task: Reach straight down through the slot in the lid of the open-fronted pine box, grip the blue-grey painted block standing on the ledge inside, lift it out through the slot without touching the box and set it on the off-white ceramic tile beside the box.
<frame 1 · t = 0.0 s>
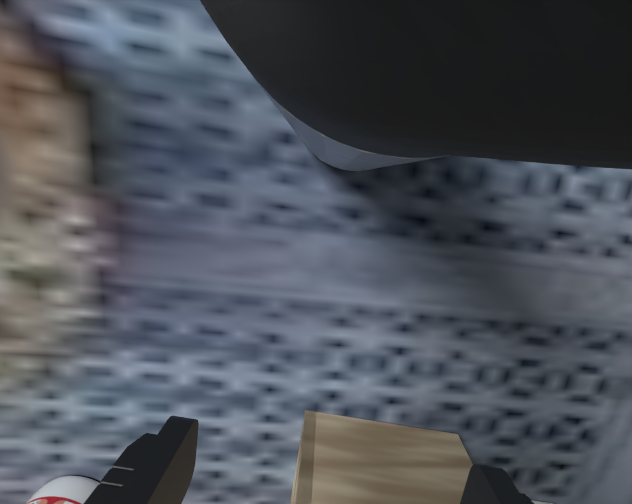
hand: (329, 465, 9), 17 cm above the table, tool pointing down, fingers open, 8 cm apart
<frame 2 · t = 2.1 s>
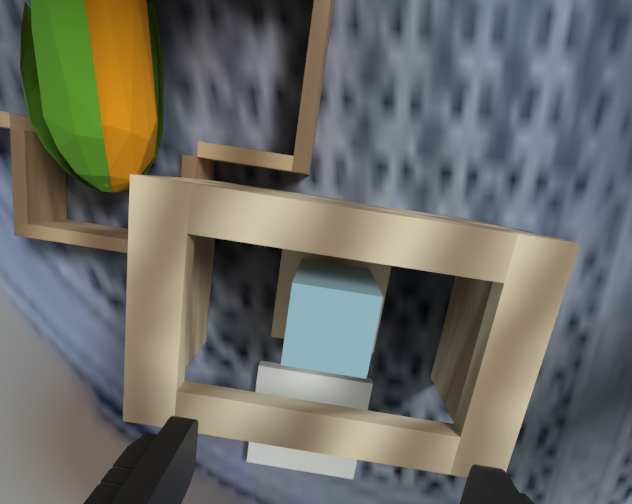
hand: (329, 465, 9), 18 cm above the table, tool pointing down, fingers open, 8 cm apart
tile: (307, 417, 29), on the table
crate: (330, 284, 27), on the table
corn: (128, 57, 24), resting in corn rack
block: (330, 296, 24), point 3 cm above the table, touching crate
corn rack: (137, 58, 24), on the table
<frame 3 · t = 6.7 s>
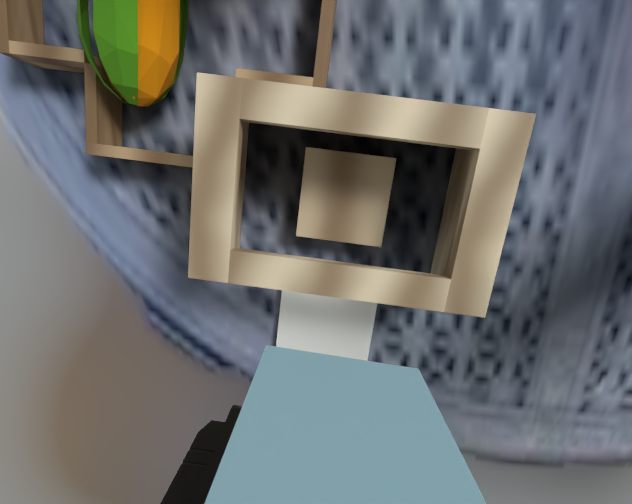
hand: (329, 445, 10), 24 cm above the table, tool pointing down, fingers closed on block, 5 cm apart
tile: (326, 318, 34), on the table
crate: (343, 197, 32), on the table
block: (330, 423, 11), point 23 cm above the table, touching gripper
corn rack: (181, 7, 29), on the table
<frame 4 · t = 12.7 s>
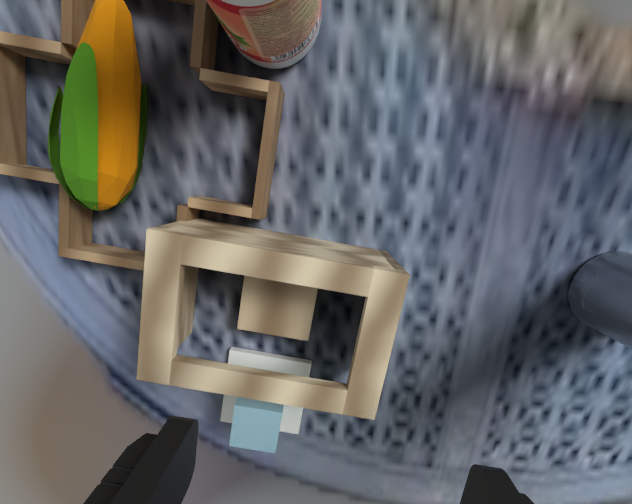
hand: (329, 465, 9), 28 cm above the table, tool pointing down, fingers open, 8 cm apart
tile: (266, 389, 40), on the table
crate: (281, 292, 37), on the table
corn: (124, 115, 34), resting in corn rack
block: (265, 393, 39), point 1 cm above the table, touching tile
corn rack: (146, 134, 34), on the table
fruit juice: (274, 21, 32), on the table
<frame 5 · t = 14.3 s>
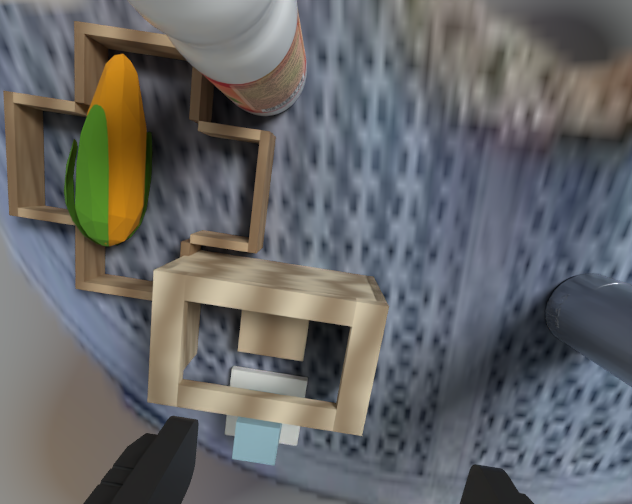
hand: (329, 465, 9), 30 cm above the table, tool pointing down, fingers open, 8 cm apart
tile: (266, 404, 43), on the table
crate: (278, 315, 41), on the table
corn: (131, 157, 38), resting in corn rack
block: (265, 408, 42), point 1 cm above the table, touching tile
corn rack: (152, 176, 38), on the table
fruit juice: (265, 73, 35), on the table
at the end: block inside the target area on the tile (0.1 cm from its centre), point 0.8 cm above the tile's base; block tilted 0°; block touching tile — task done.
